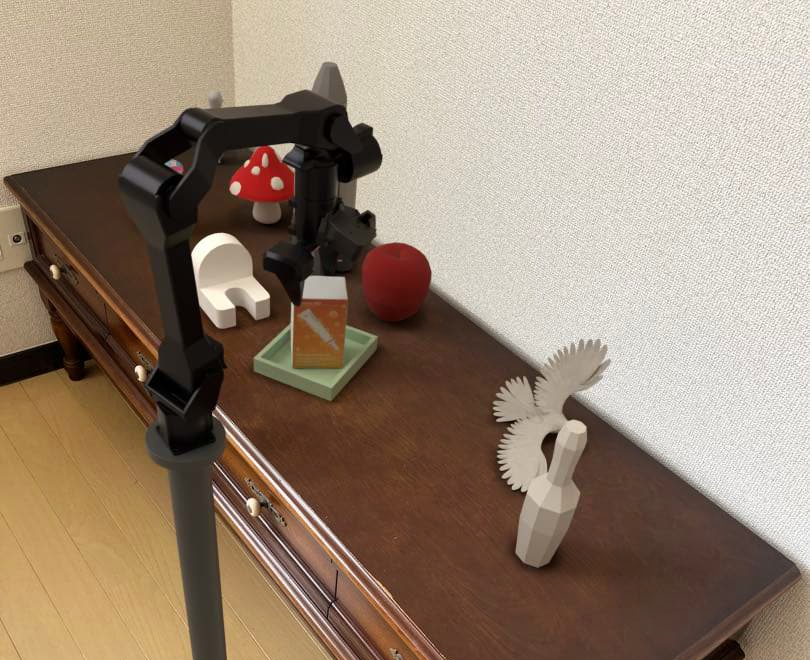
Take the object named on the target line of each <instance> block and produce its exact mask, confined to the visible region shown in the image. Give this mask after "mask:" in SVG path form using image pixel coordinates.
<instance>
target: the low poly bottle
mask: <svg viewBox="0 0 810 660" xmlns="http://www.w3.org/2000/svg"><path fill="white" fill-rule="evenodd" d="M567 421H568V422H567V423H566V424H565V425H564V427H563V428H562V429H561V430H560V432H559V433H557V437H556V438H555V443H554V449H553V454H552V459H551V462H550V465H549V468H548V471H547V473H546V474H543V475H541V476H539V477H537V478H534V479H532V481H531V483H530V486H529V489H528V490H527V491H526V495H525V498H524V501H523V504H522V507H521V511H520V514H519V522H518V527H517V536H516V537H517V538H516V546H515V554H516V556H517V557H518V558H519V559H520V560H521V561H522V563H523V564H526V565H528V566H530V567H531V566H532V567H535V568H537V569H538V568H540V567H543V566H545V565H548V564H549V563H550V562H551V560H552V558H553V556H554V555H555V553H556V551H557V550H558V548H559V546H560V544H561V543H562V541H563V539H564V538H565V536H566V534H567V532H568V530H569V528H570V525H571V523H572V520H573V517H574V514H575V512H576V509H577V505H578V503H579V499H580V496H581V492H580V490H579V488H578V487H577V485H576V484H575V482H574V480H573V479H572V478H573V475H574V473H575V469H576V466H577V464H578V462H579V460H580V458H581V456H582V455H583V452H584V450H585V448H586V445H587V442H588V429H587V426H586V425H585V423H583V422H582V421H580V420H577V419H571V420H567Z"/></svg>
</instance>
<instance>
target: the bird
mask: <svg viewBox="0 0 810 660" xmlns="http://www.w3.org/2000/svg"><path fill="white" fill-rule="evenodd" d="M569 347H570V348H569V350H568V347H567V346H566V345H564V346H563V351H562V349H560V348H557V350H556V351H557V354H556V353H553V355H552V356H553V359H552V358H551V357H547V361H548V363H549V364H548V363H547V362H543V367H544V368H545V369H542V368H541V369H539V371H540V373H541V374H542V375H543V377H544V378H542V377H540V376H535V379H536V380H537V381H535V382H534V384H535V386H534V388H535V389H534V390H533V391H532V388H531V386H530V383H529V381H528V378H527V377H526V376H525V375H523V379H521V378H520V377H519V376H516V377H515V379H516V380H515V379H514V378H510V381H508V380H506V381H505V386H506V387H507V389H508V390H507V389H506V388H505V387H503V386H500V388H499V389H500V391H501V392H497V393H495V396H496V397H497V398H499V399H501V400H494V401H493V402H492V404H493V405H495V406H493V407H492V410H494V411H497V412H494V413H493V416H495V417H499V418H497V419H496V421H495V422H498V423H502V422H510V421H515V422H514V423H511V424H510V426H511V427H506V429H507V431H508V432H510V433H511V434H508V433H503V434H502V435H503V437H504V438H502V439H499V442H500V443H503V444H498V445H497V447H498V448H500V449H502V450H497V451H496V452H497V453H498V454H497V455H496V458H498V459H499V461H497V464H501V465H502V466H500V467H499V471H501V472H502V471H505V473H503V474H502V476H501V479H508V480H507V481H506V483H507V485H512V487H511V490H512V491H516V490H518V489H520V492H522V493H524V492H527V491H528V489H529V486H530V483H531V481H532V479H534V478H537V477H539V476H541V475H543V474H546V473H548V464H547V463H548V462H547V458H546V457H545V454H544V453H543V451H542V444H543V441H544V439H545V438H546V436H547V435H548V434H558V433H559V432H560V430H561V429H562V428H563V427H564V425H565V424H566V423H567V422H568V421H569V420H568V419H567V418H566V416H565V415H564V413H563V407H564V404H565V402H566V401H567V399H568V398H569V397H570V396H571V395H572V394H574V393H577V392H583V391H586V390H588V389H590V388H593V386H595V385H597V384H598V383H599V382H600V381H601V380H603V378H604V375H603V374H602V373H604V372H605V371H606V370H607V368H608V367H609V366H610V364H611V363H612V359H611V358H608V359H606V360H605V358H606V355H607V352H608V350H609V349H608V345H607V344H604V345H602V342H601V339H600V338H597V339H596V340H595V341H594V343H593V339H592V338H589V339H588V340H587V342H586V344H585V340H584V338H580V339H579V342H578V345H577V349H576V345H575V343H574V342H573V341H572V342H571V343H570V346H569ZM604 360H605V361H604ZM522 380H523V381H522ZM533 393H535V394H533ZM505 438H506V439H505Z"/></svg>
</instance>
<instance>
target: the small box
mask: <svg viewBox="0 0 810 660" xmlns="http://www.w3.org/2000/svg"><path fill="white" fill-rule="evenodd" d="M348 305H349V297H348V289H347V282H346V277H345V276H332V277H328V276H318V275H310V276H309V277H308V278H307V279H306V280H305V283H304V290H303V296H302V301H301V305H300V306H299V307H298V306H295V305H293V304H292V302H291V301H290V323H291V357H292V368H343V358H344V346H345V333H346V325H347V317H348Z"/></svg>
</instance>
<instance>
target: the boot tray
mask: <svg viewBox="0 0 810 660" xmlns="http://www.w3.org/2000/svg"><path fill="white" fill-rule="evenodd" d="M378 340H379V336H378V335H375V334H373V333H370V332H366V331H364V330H362V329H358V328H355V327H353V326H350V325H348V324H346V333H345V346H344V358H343V368H292V357H291V322H290V323H288V325H287V326H286V327H285V328H283V330H282V331H280V332H279V333H278V334H277V335H276V337H274V338H273V339H272V340H271V341H270V342H269V343H267V345H266V346H265V347H263V349H262V350H260V351H259V352H258V353H257V354H256V355H255V356H254V357H253V372H254V373H256V374H260V375H262V376H265V377H267V378H270V379H272V380H275V381H278V382H280V383H282V384H285V385H288V386H291V387H292V388H296V389H298V390H301V391H303V392H306V393H308V394H310V395H314V396H315V397H319V398H321V399H323V400H326V401H328V402H332V401H333V400H334V399H335V397H336V396H338V394H339V393H340V392H341V391H342V389H343V388H345V386H346V385H347V384H348V383H349V382H350V381H351V379H353V377H354V376H355V375H356V374H357V373H358V371H359V370H361V368H362V367H363V366H364V365H365V363H366V362H367V361H368V360H369V359H370V358H371V356H373V354H374V353H375V352H376V351H377V348H378Z"/></svg>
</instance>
